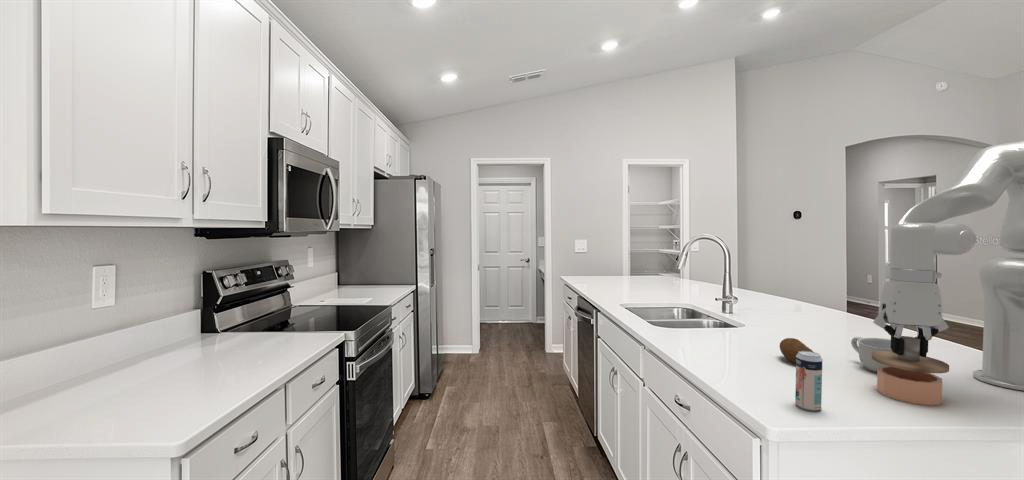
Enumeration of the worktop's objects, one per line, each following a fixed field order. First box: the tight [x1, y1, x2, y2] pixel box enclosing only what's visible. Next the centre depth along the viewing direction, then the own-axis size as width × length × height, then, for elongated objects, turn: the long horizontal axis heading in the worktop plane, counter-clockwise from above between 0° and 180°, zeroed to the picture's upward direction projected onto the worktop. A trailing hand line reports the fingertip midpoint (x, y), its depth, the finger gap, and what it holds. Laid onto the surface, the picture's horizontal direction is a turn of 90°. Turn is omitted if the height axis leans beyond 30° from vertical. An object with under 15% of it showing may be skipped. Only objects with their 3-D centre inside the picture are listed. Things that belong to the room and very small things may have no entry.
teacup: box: [850, 336, 892, 374], centre depth 113 cm, size 14×11×8 cm
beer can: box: [794, 351, 824, 412], centre depth 90 cm, size 5×5×12 cm
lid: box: [872, 335, 950, 374], centre depth 96 cm, size 13×13×6 cm
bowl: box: [876, 366, 943, 407], centre depth 96 cm, size 11×11×5 cm
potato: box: [779, 337, 814, 365], centre depth 119 cm, size 7×12×7 cm, turn 8°
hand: (908, 353), depth 96 cm, fingers closed on lid, 3 cm apart
